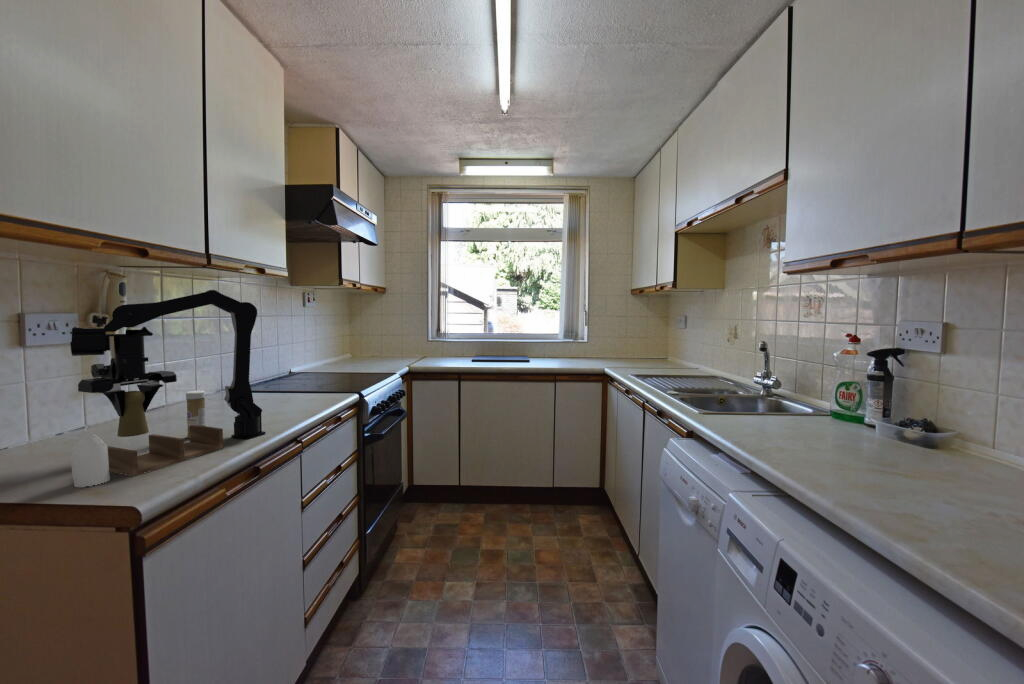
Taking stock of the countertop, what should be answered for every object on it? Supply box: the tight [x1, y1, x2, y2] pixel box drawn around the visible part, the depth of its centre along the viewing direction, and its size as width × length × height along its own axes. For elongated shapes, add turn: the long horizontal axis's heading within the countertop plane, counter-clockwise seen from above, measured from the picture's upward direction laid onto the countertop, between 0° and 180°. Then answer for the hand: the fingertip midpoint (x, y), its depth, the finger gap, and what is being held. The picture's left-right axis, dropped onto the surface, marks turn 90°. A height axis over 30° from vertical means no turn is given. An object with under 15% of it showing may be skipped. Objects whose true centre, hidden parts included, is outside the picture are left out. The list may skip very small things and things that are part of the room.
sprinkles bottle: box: [185, 389, 207, 439], centre depth 125 cm, size 5×5×13 cm
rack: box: [107, 425, 224, 477], centre depth 106 cm, size 21×11×6 cm, turn 162°
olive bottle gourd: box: [117, 390, 149, 438], centre depth 109 cm, size 6×6×11 cm
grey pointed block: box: [70, 427, 111, 488], centre depth 90 cm, size 6×12×6 cm
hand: (132, 414), depth 109 cm, fingers closed on olive bottle gourd, 5 cm apart
